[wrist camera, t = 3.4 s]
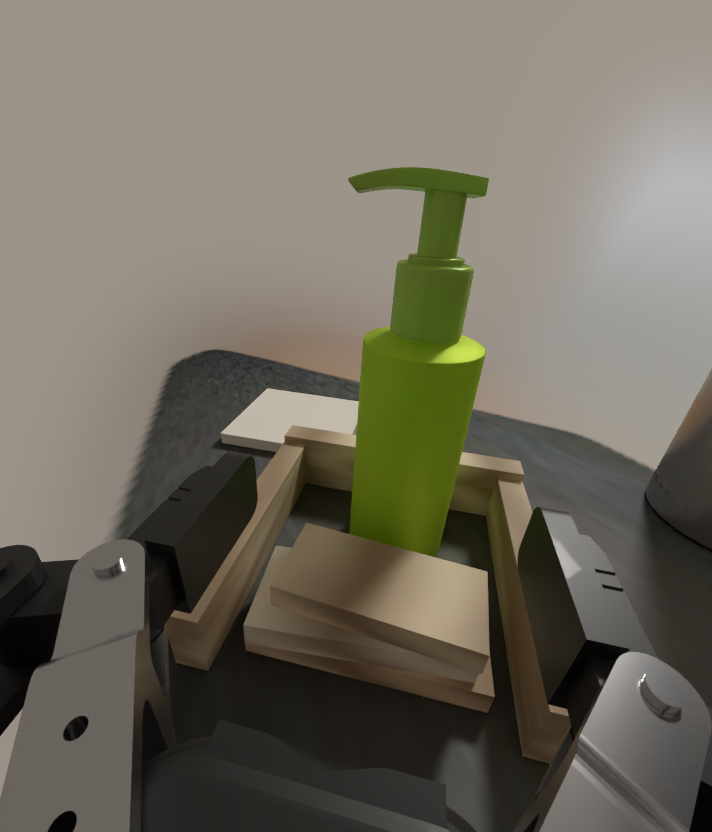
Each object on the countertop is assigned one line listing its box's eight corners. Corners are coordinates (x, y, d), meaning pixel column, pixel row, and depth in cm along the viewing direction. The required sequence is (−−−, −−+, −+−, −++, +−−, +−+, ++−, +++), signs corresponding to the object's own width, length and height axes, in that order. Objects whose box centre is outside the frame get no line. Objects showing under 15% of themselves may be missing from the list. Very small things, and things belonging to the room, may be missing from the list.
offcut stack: (477, 610, 20) (494, 560, 18) (488, 722, 15) (512, 670, 14) (282, 567, 22) (280, 517, 20) (241, 658, 17) (233, 603, 15)
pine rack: (503, 499, 28) (518, 455, 26) (565, 768, 14) (605, 716, 12) (296, 462, 31) (295, 420, 29) (175, 662, 17) (158, 606, 15)
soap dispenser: (336, 501, 27) (353, 173, 17) (432, 508, 27) (500, 183, 17) (328, 569, 22) (345, 154, 12) (446, 578, 22) (555, 169, 12)
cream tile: (364, 410, 40) (365, 402, 39) (343, 463, 31) (343, 453, 30) (267, 396, 41) (267, 388, 41) (221, 442, 33) (220, 433, 32)
